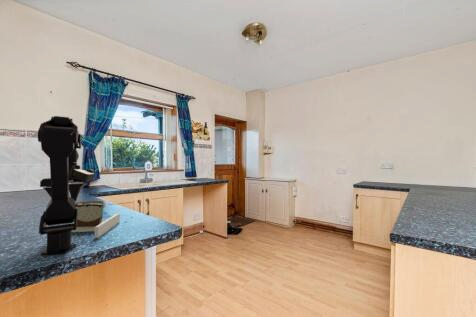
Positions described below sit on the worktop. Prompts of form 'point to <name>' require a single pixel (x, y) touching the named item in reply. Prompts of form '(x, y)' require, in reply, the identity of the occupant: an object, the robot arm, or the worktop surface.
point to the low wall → (106, 225)
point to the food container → (89, 213)
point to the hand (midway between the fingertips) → (66, 203)
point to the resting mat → (84, 229)
